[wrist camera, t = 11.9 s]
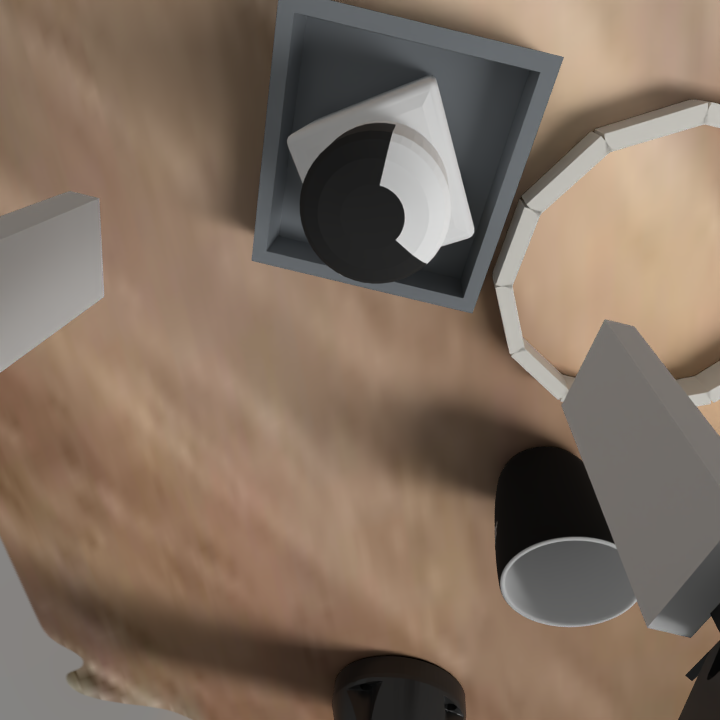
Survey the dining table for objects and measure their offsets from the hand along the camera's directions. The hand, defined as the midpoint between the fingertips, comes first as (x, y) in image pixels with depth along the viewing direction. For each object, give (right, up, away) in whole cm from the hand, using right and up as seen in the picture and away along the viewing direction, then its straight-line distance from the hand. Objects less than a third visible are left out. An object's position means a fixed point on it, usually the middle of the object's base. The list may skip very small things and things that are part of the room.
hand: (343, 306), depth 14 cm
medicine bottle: (+2, +10, +17) cm, 20 cm away
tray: (+2, +11, +18) cm, 21 cm away
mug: (+16, -12, +29) cm, 35 cm away
